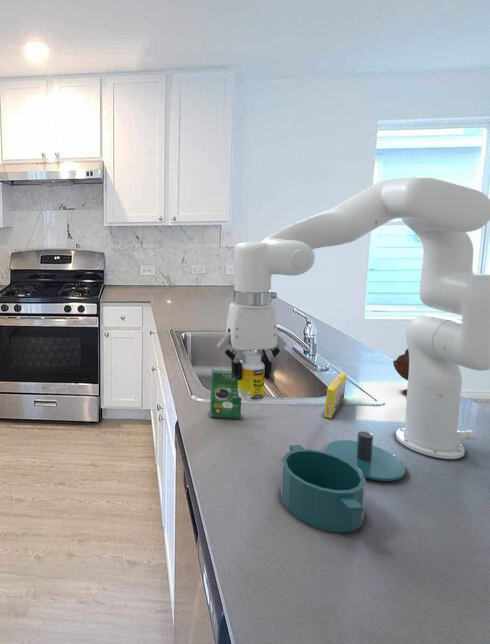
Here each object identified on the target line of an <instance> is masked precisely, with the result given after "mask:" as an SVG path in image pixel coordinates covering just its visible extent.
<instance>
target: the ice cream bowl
mask: <svg viewBox="0 0 490 644" xmlns="http://www.w3.org/2000/svg"><path fill="white" fill-rule="evenodd" d="M392 364H393V368H394V370H395V371H396V372H397V374H398V375H399V376H400V377H401V378H402V379H404V380H405V381H408V376H409V351H408V348H407V349H405V351H404V353H403V354H401V355H398V357H397V358H396V359H395V360H392ZM401 393H402V395H404V396H406V397H407V388H406V389H403V390H402V391H401Z"/></svg>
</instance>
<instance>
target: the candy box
mask: <svg viewBox="0 0 490 644" xmlns="http://www.w3.org/2000/svg"><path fill="white" fill-rule="evenodd" d="M346 382H347V373H345V372H344V373H343V372H339V373H338V374H337V376H335V378H334V379H333V380H332V382H331V383H330V385H329V386H328V387H327V389H326V396H325V406H324V414H323V415H324V418H326V419H332V418H333V416H334V414H335V413H336V412H337V410H338V409H339V407H340V406H341V404H342V402H343V400H345V391H346Z"/></svg>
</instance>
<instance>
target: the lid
mask: <svg viewBox="0 0 490 644" xmlns="http://www.w3.org/2000/svg"><path fill="white" fill-rule="evenodd" d="M373 442H374V435H373V434H372V433H370V432H367V431H358V432H357V440H351V439H341V440H334V441H331V442H329V443H327V445H326V447H325V452H327V453H330V454H333V455H336V456H339V457H341V458H343V459H344V460H346V461H348V462H350V463H352V464H353V465H354V466H356V467H357V468H358V469H359V470H360V471H361V472H362V473H363V475H364V477H365V479H369V480H373V481H381V482H390V481H391V482H392V481H397V480H401V479H402V478H404V476H405V475H406V466H405V464H404V463H403V461H402V460H401V459H400V458H399V457H398V456H396V455H394V454H393V453H391V452H390V451H389V450H388V451H387V450H386V449H384V448H381V447H380V446H376V445H373V444H374V443H373Z"/></svg>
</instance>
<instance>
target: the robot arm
mask: <svg viewBox="0 0 490 644" xmlns="http://www.w3.org/2000/svg"><path fill="white" fill-rule="evenodd" d="M395 219H401V221H402V222H403V223H404V225H405V226H406V227H408V228H409V229H410V230H411V231H412V232H413V233H415V235H416V236H417V238H419V241H420V242H421V245H422V249H423V256H422V266H421V274H420V281H419V300H420V301H421V303H423V305H425V306H426V307H428V308H430V309H434V310H436V311H441V312H445V313H449V314H454V315H458V316H461V320H460V319H457V318H452V317H449V316H444V315H440V314H433V313H431V314H430V313H429V314H428V313H427V314H420V315H417V316H415V317H413V319H411V321H409V323H408V324H407V327H406V330H405V331H406V332H405V338H406V345H407V349H408V351H409V376H408V380H407V388H406V389H407V396H406V401H405V416H404V426H403V427H400V428H398V429H397V430H396V431H395V438H396V440H397V441H398V442H399V443H400V444H402V445H403V446H404V447H406V448H407V449H410V450H412V451H414V452H416V453H418V454H422V455H425V456H428V457H431V458H432V457H433V458H437V459H443V460H456V459H461V458H462V457H464V456H465V452H466V451H465V450H466V449H465V446H464V445H462V443H461V442H463V441H464V440H476V439H477V434H476V433H475V431H473V430H461V429H460V427H458V425H459V415H460V405H461V392H462V387H463V386H462V385H463V375H462V372H461V369H460V367H463V368H466V369H469V370H474V371H480V372H481V371H489V370H490V274H487V273H479V272H474V271H473V264H474V245H473V241H472V239H471V237H470V236H469V234H468V233H471V232H474V231H477V230H480V229H481V228H483V227H485V226H486V225H487V224H488V223H489V222H490V198H489V197H488V196H487V195H486V194H485V193H484V192H481V191H480V190H477V189H474V188H472V187H468V186H463V185H460V184H455V183H452V182H449V181H445V180H441V179H438V178H433V177H428V176H419V175H418V176H409V177H401V178H400V177H399V178H390V179H385V180H381V181H378V182H376V183H374V184H372V185H370V186H368V187H367V188H365V189H363V190H361V191H360V192H358V193H356V194H354V195H353V196H351V197H349V198H347V199H346V200H344V201H342V202H341V203H338V204H337V205H335V206H333V207H331V208H329V209H327V210H324V211H321V212H319V213H316V214H313V215H311V216H309V217H307V218H304V219H301V220H298V221H297V222H294V223H291V224H289V225H287V226H285V227H283V228H281V229H280V230H277V231H276V232H274V233H273V234H271V235H269V236H267V237H266V238H264V239H262V241H244V242H239V243H237V244H236V245H235V246H234V249H233V259H234V260H233V264H234V265H233V302H231V303H229V306H228V311H227V317H226V325H225V335H224V336H223V337H222V338H221V340H220V341H219V342H218V343H217V344H216V348H217V349H219V350H220V351H221V352H223V353H224V354H225V355H226V356H227V357H228V358H229V359H230V360H231V371H232V374H233V375H234V377H235V378H236V379H237V380H241V379H242V364H241V363H240V360H241V359H242V353H243V352H244V351H261V355H262V356H261V362H263V363H264V365H265V378H264V379H266V380H270V378H271V374H272V362H274V361H275V358H276V357H277V356H278V355H279V354H280V352H281V351H283V350H284V349H285V347H287V343H286V341H285V340H284V339H283V338H282V337H281V336H280V335H279V334H278V322H277V315H276V310H275V306H274V304H273V303H272V301H273V299H277V298H278V294H277V292H276V291H272V275H279V276H300V275H303V274H305V273H307V272H308V271H310V270H311V268H312V267H313V266H314V264H315V260H316V256H315V252H314V250H316V249H320V248H327V247H328V248H329V247H335V246H340V245H345V244H349V243H352V242H355V241H357V240H358V239H360V238H362V237H364V236H366V235H367V234H370V232H372V231H374V230H376V229H378V228H380V227H381V226H383V225H385V224H387V223H388V222H390V221H392V220H395ZM228 345H229V346H231V347H232V348H231V350H230V349H229V348H228V347H227V346H228Z"/></svg>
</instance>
